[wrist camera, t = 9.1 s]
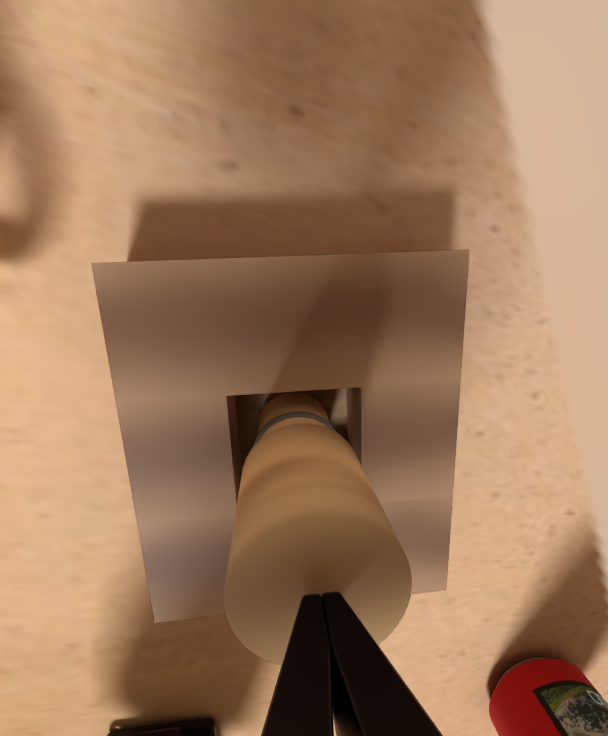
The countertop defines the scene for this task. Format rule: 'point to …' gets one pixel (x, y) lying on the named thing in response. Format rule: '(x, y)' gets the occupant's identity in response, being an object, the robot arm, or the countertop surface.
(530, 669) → the beverage can
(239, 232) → the countertop surface
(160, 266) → the board
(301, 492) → the peg
